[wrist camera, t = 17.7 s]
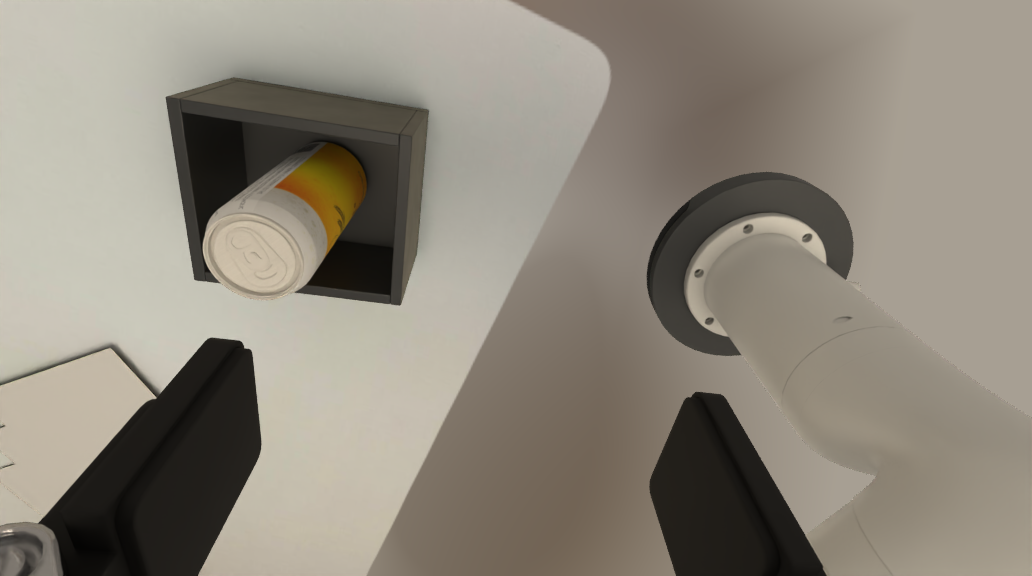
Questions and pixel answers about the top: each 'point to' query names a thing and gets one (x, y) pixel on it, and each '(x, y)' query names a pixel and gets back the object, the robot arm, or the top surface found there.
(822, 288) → the robot arm
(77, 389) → the paper stack
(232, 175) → the open box
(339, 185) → the beer can
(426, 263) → the top surface
